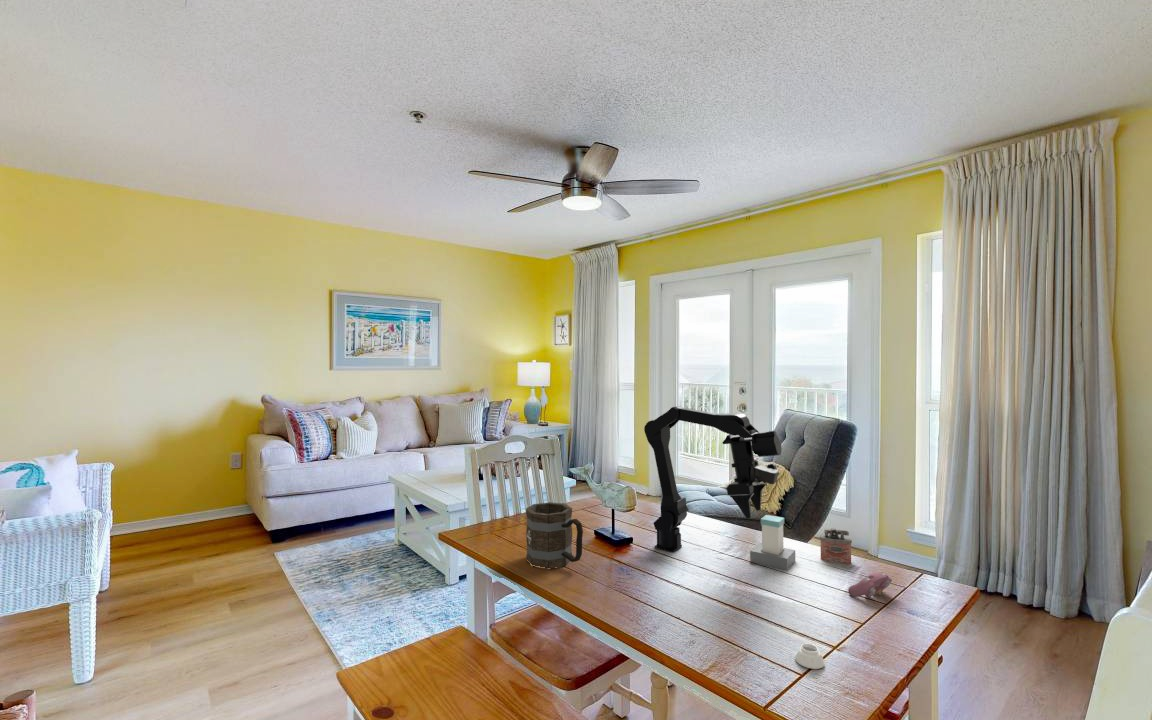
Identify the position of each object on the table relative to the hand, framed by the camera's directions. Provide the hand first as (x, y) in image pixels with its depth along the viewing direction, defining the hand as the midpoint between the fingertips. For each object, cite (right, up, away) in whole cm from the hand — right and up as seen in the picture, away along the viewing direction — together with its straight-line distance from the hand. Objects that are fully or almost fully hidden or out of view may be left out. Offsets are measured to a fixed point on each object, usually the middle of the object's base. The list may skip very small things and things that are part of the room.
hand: (753, 514), depth 146 cm
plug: (+6, -13, +1) cm, 14 cm away
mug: (-55, -15, +3) cm, 57 cm away
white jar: (-5, -15, -46) cm, 49 cm away
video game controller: (+22, -15, -18) cm, 32 cm away
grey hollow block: (+6, -14, +1) cm, 15 cm away
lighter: (+23, -15, +1) cm, 28 cm away
